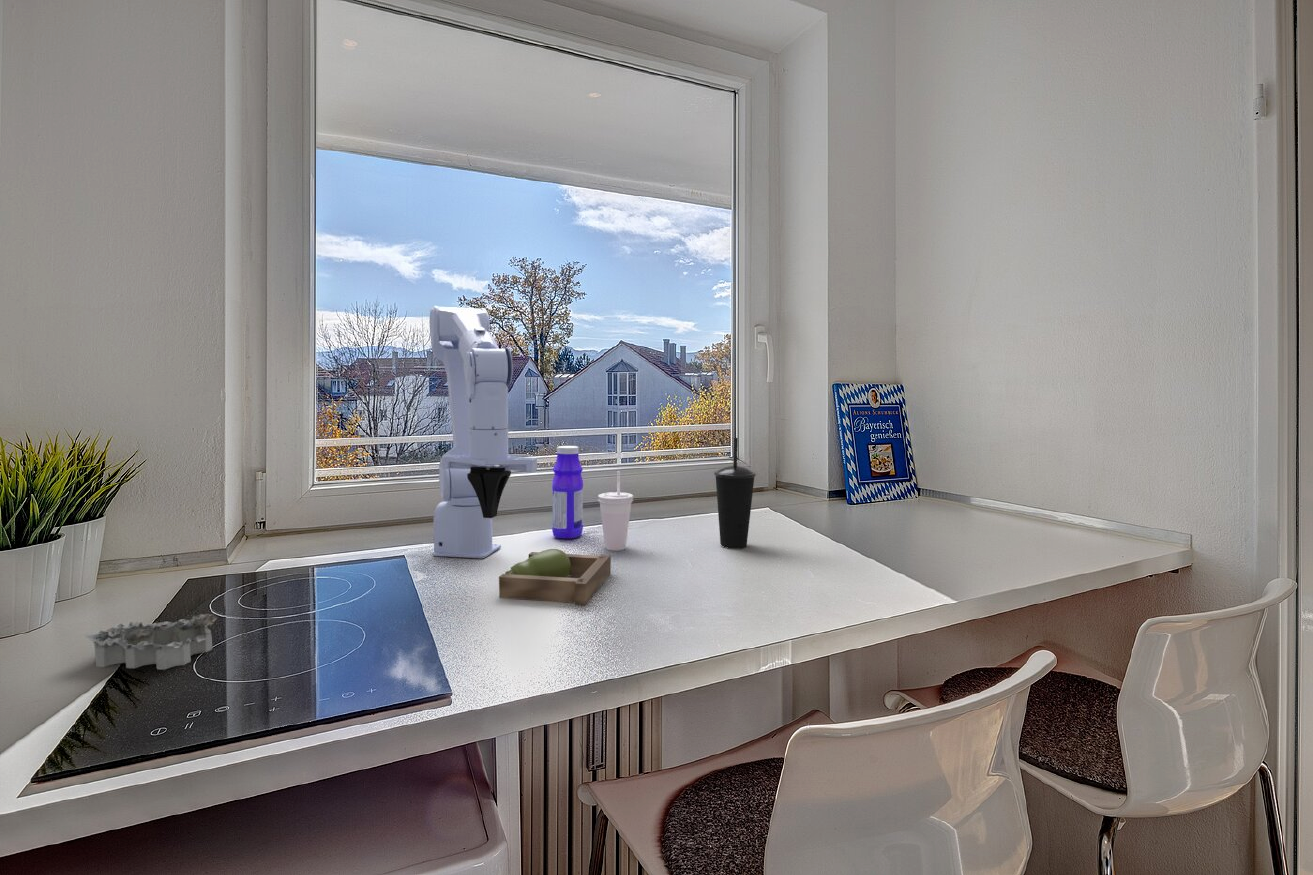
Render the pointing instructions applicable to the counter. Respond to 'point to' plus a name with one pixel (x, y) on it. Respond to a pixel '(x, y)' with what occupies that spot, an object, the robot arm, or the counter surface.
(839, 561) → the counter surface
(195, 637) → the egg carton
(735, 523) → the drinking cup
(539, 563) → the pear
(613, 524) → the smoothie
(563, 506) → the bottle
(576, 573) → the walnut frame
